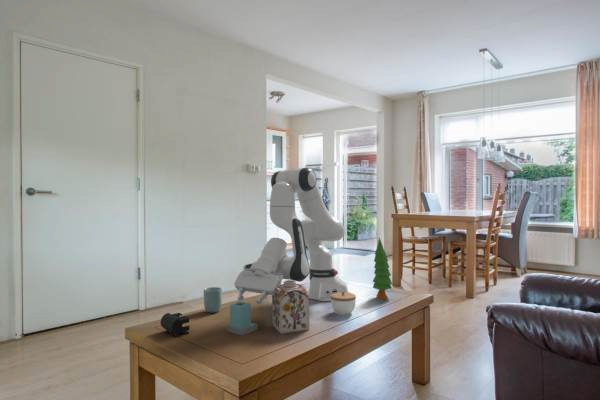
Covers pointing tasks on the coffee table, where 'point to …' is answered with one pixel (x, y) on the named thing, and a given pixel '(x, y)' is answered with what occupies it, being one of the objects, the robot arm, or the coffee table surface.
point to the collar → (240, 314)
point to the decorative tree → (381, 272)
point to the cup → (212, 299)
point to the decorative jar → (290, 308)
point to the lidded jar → (343, 303)
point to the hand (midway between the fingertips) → (248, 301)
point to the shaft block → (242, 329)
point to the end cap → (175, 323)
